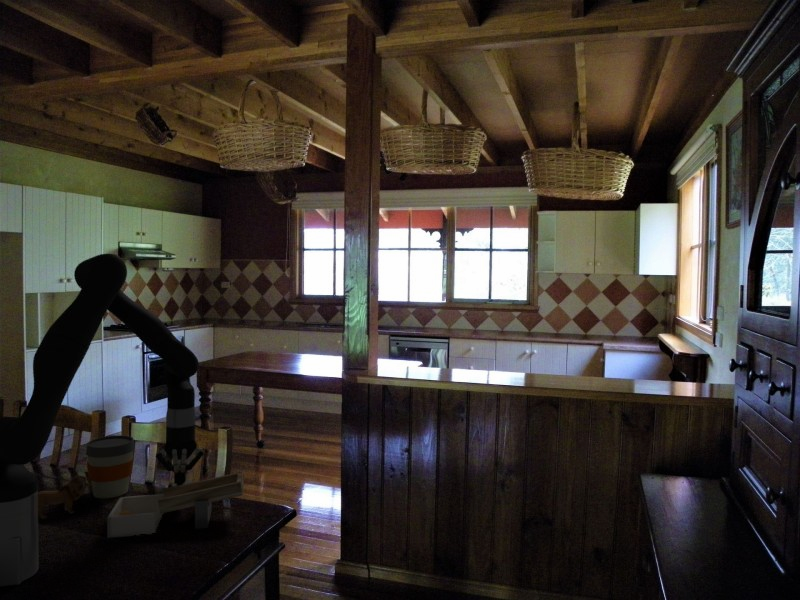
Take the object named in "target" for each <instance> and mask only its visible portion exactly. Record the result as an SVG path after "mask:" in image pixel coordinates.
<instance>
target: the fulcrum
mask: <svg viewBox="0 0 800 600" xmlns="http://www.w3.org/2000/svg"><path fill="white" fill-rule="evenodd" d="M212 510H213V502H210V503H208V499H203V500H195V506H194V530H201V529H208V528H209V524H210V523H209V522H210V518H211V514H212Z"/></svg>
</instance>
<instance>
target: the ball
mask: <svg viewBox="0 0 800 600" xmlns="http://www.w3.org/2000/svg"><path fill="white" fill-rule="evenodd" d="M129 514H132V513H131V512H130V511H128V510H124V511H122V512H121V513H120V514H119V515H129Z"/></svg>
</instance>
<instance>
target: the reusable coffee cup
mask: <svg viewBox="0 0 800 600" xmlns="http://www.w3.org/2000/svg"><path fill="white" fill-rule="evenodd" d="M135 448H136V447H135V439H134V437H133V436H130V435H108V436H101V437H97V438H94V439H91V440H89V441H88V442H87V444H86V451H85V455H86V456H87V461H88V462H86V467H87V473H88V480H89V481H90V482H91V489H92V496H93V497H94V498H96V499H111V498H112V499H113V498H116V497H121V496H123V495H124V494H126V493H128V491H129V485H130V484H129V483H130V478H131V475H132V474H133V465H134V455H133V454H134V450H135Z"/></svg>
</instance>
